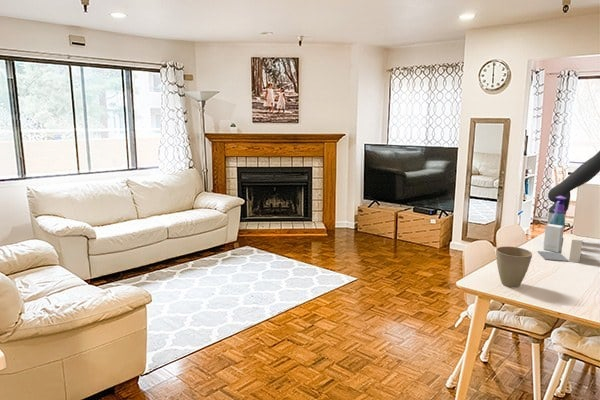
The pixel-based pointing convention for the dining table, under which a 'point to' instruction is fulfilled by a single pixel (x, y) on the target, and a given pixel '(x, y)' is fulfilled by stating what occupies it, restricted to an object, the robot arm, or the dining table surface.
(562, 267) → the dining table surface
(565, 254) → the block
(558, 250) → the skincare box
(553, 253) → the mat
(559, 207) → the lantern
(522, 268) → the plant pot
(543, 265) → the dining table surface
